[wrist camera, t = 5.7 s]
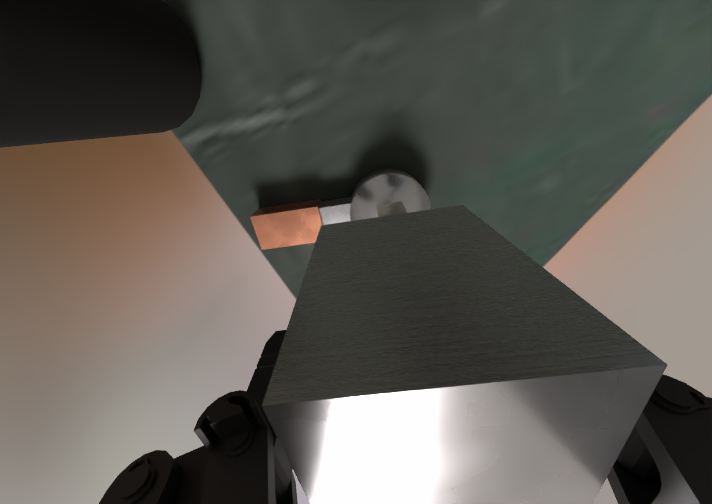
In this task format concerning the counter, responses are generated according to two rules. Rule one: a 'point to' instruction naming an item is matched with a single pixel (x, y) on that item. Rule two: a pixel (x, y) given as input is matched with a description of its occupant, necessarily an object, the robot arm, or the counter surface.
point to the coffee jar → (93, 70)
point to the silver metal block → (449, 371)
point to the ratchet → (339, 209)
